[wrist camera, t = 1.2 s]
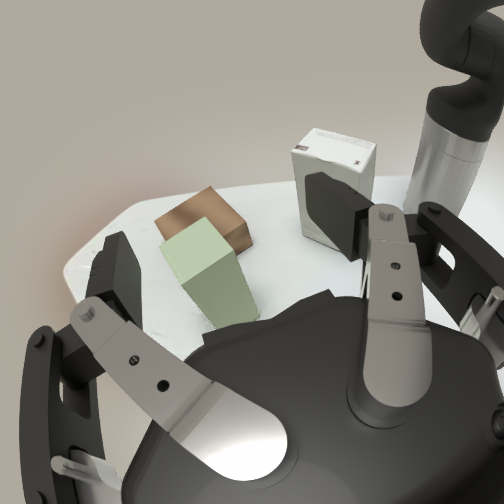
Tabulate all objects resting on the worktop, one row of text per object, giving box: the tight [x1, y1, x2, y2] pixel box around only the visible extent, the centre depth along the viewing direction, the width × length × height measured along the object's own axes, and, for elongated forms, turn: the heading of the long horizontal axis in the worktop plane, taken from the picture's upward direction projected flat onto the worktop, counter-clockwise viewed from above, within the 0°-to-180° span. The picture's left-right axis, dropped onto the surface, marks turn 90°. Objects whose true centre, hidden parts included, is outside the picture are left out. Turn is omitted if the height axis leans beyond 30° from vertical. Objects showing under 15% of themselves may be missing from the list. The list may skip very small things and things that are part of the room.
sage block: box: [159, 217, 260, 329], centre depth 29 cm, size 5×5×14 cm
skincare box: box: [291, 128, 377, 251], centre depth 33 cm, size 8×6×15 cm
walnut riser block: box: [154, 186, 253, 256], centre depth 40 cm, size 10×10×5 cm
